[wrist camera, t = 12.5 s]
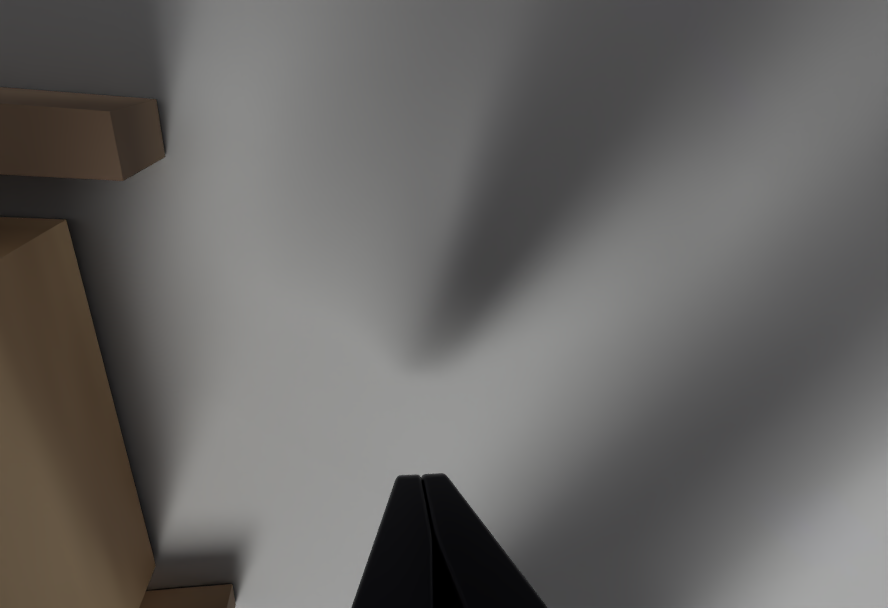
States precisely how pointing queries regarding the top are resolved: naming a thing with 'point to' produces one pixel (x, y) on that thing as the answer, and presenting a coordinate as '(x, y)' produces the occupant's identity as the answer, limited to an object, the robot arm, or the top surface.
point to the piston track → (91, 157)
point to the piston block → (60, 439)
